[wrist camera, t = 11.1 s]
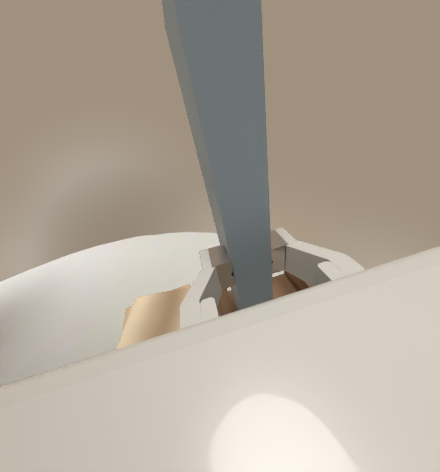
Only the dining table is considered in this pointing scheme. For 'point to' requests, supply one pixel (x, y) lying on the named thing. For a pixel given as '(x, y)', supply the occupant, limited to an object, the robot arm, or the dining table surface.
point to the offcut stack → (152, 316)
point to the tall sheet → (228, 127)
